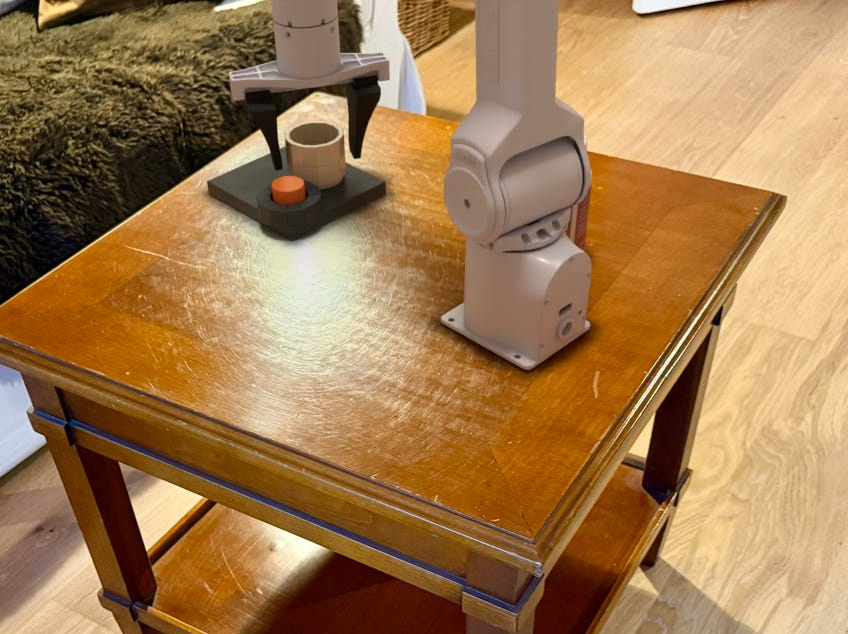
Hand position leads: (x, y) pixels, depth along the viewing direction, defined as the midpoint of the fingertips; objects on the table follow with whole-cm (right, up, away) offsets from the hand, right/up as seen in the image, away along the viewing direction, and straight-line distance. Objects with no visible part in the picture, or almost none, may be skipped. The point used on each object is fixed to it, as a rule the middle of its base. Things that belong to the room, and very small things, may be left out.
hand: (316, 159), depth 98 cm
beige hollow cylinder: (0, -1, +1) cm, 2 cm away
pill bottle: (+21, -11, -8) cm, 25 cm away
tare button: (-2, -5, -4) cm, 7 cm away
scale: (-2, -3, +2) cm, 4 cm away
